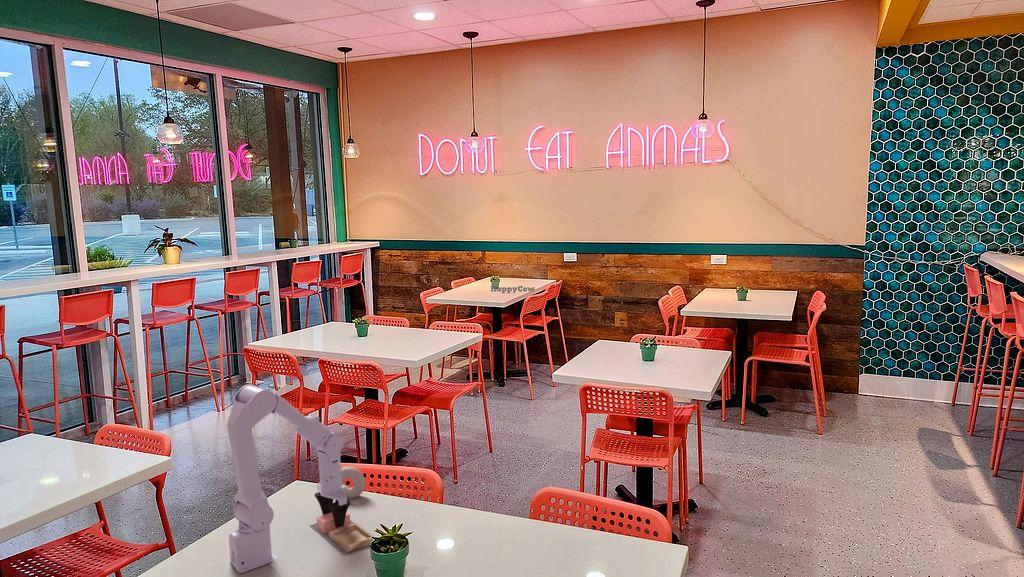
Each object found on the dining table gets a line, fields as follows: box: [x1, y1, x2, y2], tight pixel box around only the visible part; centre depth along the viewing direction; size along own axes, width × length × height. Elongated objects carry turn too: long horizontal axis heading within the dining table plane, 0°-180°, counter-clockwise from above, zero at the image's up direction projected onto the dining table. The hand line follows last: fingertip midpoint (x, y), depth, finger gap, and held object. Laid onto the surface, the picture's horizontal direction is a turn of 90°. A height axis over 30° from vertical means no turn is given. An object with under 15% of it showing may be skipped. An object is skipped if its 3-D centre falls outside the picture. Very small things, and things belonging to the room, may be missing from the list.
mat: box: [309, 519, 371, 557], centre depth 181 cm, size 10×22×1 cm, turn 39°
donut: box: [341, 466, 366, 500], centre depth 204 cm, size 10×4×10 cm, turn 84°
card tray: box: [329, 522, 376, 553], centre depth 177 cm, size 8×11×2 cm
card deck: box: [316, 511, 351, 533], centre depth 185 cm, size 8×5×3 cm, turn 129°
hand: (333, 521), depth 185 cm, fingers open, 7 cm apart
